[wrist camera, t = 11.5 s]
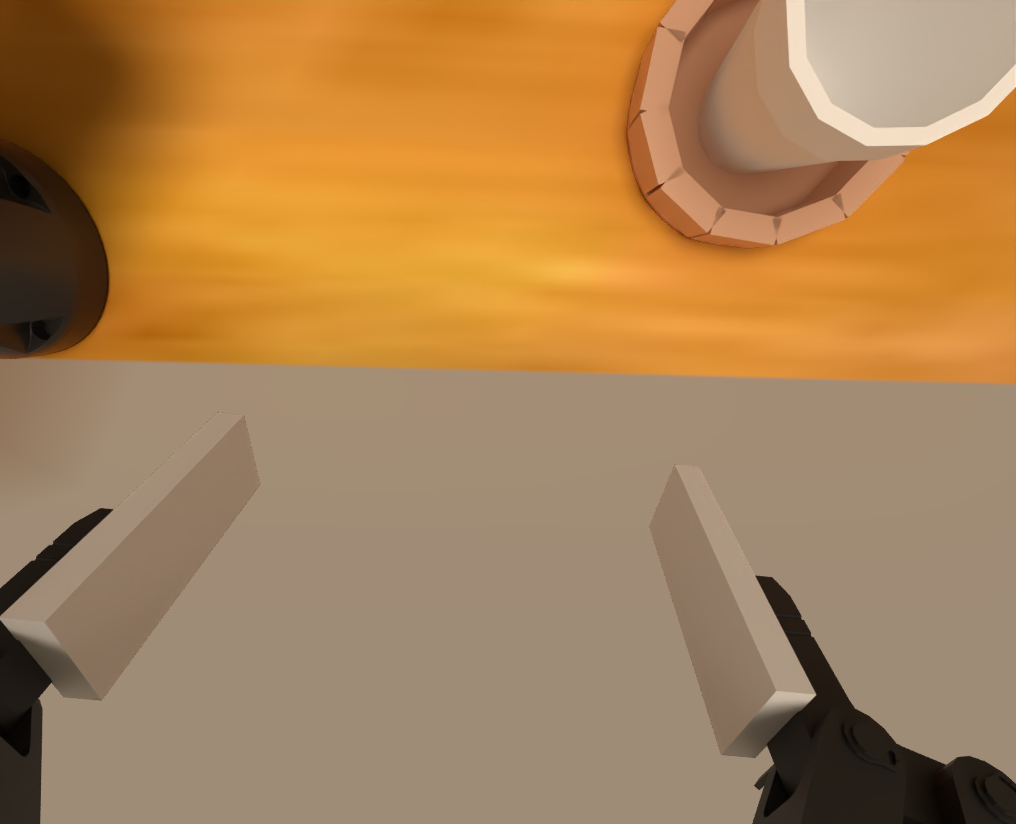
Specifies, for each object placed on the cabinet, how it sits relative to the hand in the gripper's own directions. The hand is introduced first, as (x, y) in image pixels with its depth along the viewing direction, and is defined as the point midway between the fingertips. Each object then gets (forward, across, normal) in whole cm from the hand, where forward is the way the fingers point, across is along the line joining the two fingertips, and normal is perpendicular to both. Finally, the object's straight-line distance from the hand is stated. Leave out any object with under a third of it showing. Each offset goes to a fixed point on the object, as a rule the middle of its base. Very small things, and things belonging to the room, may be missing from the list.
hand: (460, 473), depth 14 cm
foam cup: (+23, +14, +12) cm, 29 cm away
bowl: (+24, +15, +11) cm, 30 cm away
